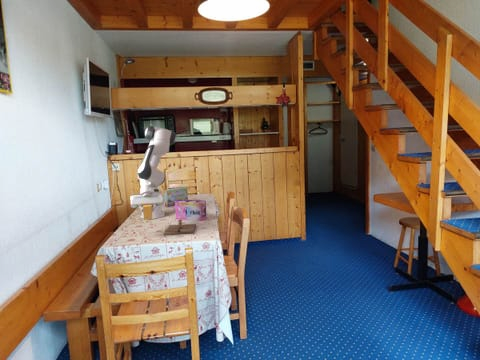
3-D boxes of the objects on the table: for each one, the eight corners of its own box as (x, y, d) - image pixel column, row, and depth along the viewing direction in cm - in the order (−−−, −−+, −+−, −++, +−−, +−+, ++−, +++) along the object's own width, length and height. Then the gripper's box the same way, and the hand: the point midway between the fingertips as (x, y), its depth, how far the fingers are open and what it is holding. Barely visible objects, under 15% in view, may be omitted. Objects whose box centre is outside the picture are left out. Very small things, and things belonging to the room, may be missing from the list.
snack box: (168, 207, 284) (166, 190, 282) (165, 206, 288) (163, 189, 286) (188, 203, 298) (187, 187, 296) (185, 202, 302) (184, 186, 300)
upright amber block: (144, 217, 201) (143, 205, 200) (152, 216, 202) (151, 204, 201) (143, 219, 196) (142, 206, 195) (152, 218, 197) (151, 206, 196)
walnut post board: (169, 227, 217) (168, 217, 216) (195, 225, 217) (195, 215, 216) (164, 235, 199) (163, 224, 198) (193, 233, 199) (192, 222, 198)
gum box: (208, 218, 236) (207, 200, 235) (203, 221, 229) (202, 202, 227) (181, 216, 246) (180, 199, 245) (175, 219, 239) (174, 201, 237)
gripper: (129, 191, 201) (129, 210, 193) (163, 189, 206) (164, 207, 198) (130, 197, 206) (130, 215, 198) (163, 195, 211) (164, 212, 203)
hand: (147, 211), depth 198 cm, fingers closed on upright amber block, 5 cm apart
